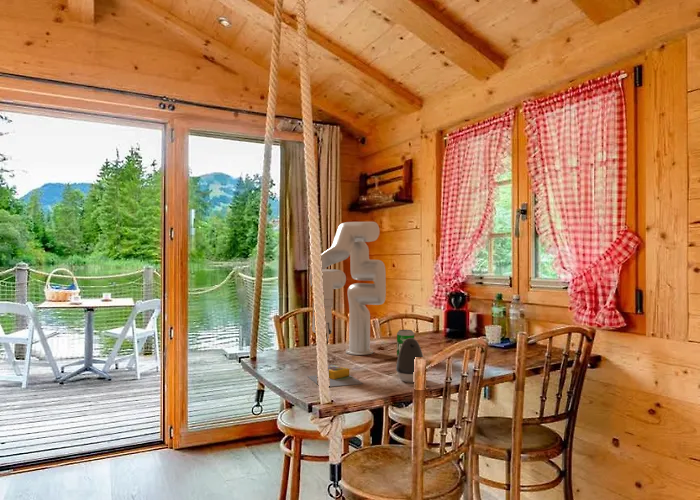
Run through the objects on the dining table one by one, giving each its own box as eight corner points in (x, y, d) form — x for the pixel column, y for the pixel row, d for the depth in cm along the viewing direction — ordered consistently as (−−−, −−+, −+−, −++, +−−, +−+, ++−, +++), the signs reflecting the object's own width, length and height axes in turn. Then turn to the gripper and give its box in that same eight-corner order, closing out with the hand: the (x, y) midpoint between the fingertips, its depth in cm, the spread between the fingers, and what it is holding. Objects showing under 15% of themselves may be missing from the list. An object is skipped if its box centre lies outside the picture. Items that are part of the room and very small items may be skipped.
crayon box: (332, 363, 187) (353, 369, 178) (332, 371, 187) (353, 377, 178) (317, 366, 182) (338, 372, 173) (317, 375, 182) (338, 381, 173)
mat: (307, 376, 180) (307, 376, 180) (346, 373, 186) (346, 372, 186) (322, 388, 165) (322, 387, 165) (363, 383, 171) (363, 383, 171)
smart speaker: (398, 384, 170) (399, 340, 170) (394, 377, 180) (394, 335, 181) (428, 384, 171) (428, 340, 171) (421, 377, 181) (421, 335, 181)
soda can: (394, 357, 217) (394, 329, 217) (409, 356, 219) (410, 328, 219) (401, 360, 210) (401, 332, 210) (417, 359, 212) (417, 331, 212)
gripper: (307, 301, 191) (307, 349, 191) (319, 305, 177) (319, 357, 177) (325, 301, 194) (325, 348, 194) (339, 305, 180) (339, 355, 180)
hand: (322, 352), depth 185 cm, fingers closed
